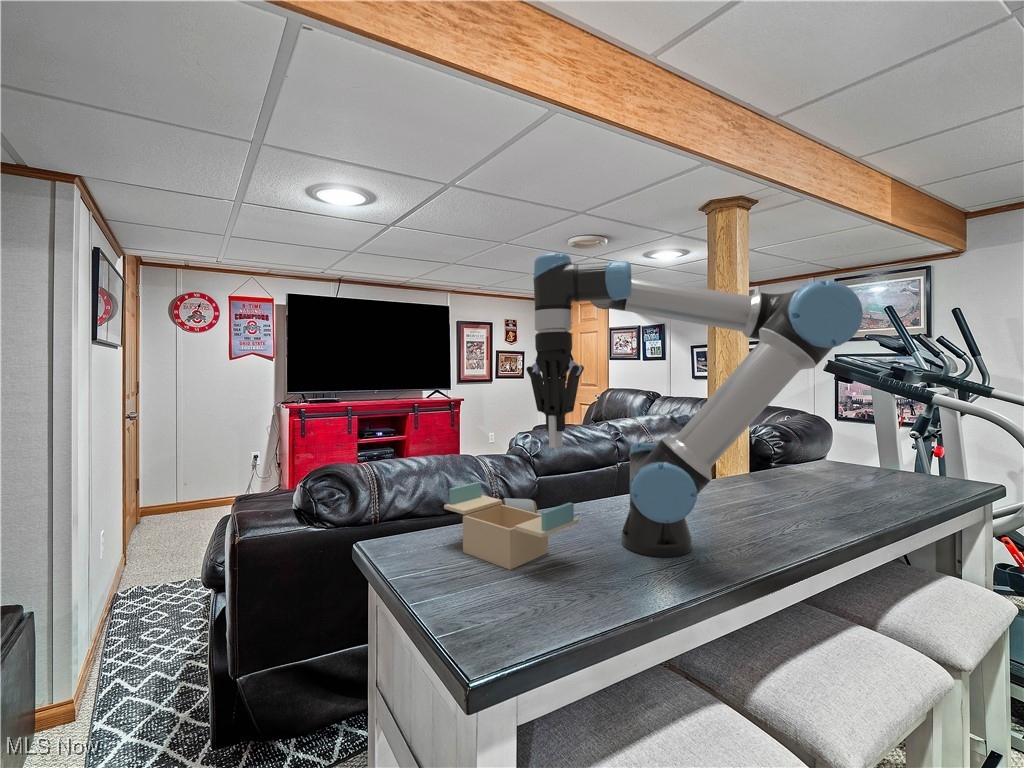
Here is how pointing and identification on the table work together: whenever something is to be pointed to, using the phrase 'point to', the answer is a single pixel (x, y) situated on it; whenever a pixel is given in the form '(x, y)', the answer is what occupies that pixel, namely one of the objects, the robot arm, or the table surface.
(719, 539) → the table surface
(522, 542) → the carton
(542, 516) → the lid near
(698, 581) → the table surface
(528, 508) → the ceramic mug
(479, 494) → the lid
